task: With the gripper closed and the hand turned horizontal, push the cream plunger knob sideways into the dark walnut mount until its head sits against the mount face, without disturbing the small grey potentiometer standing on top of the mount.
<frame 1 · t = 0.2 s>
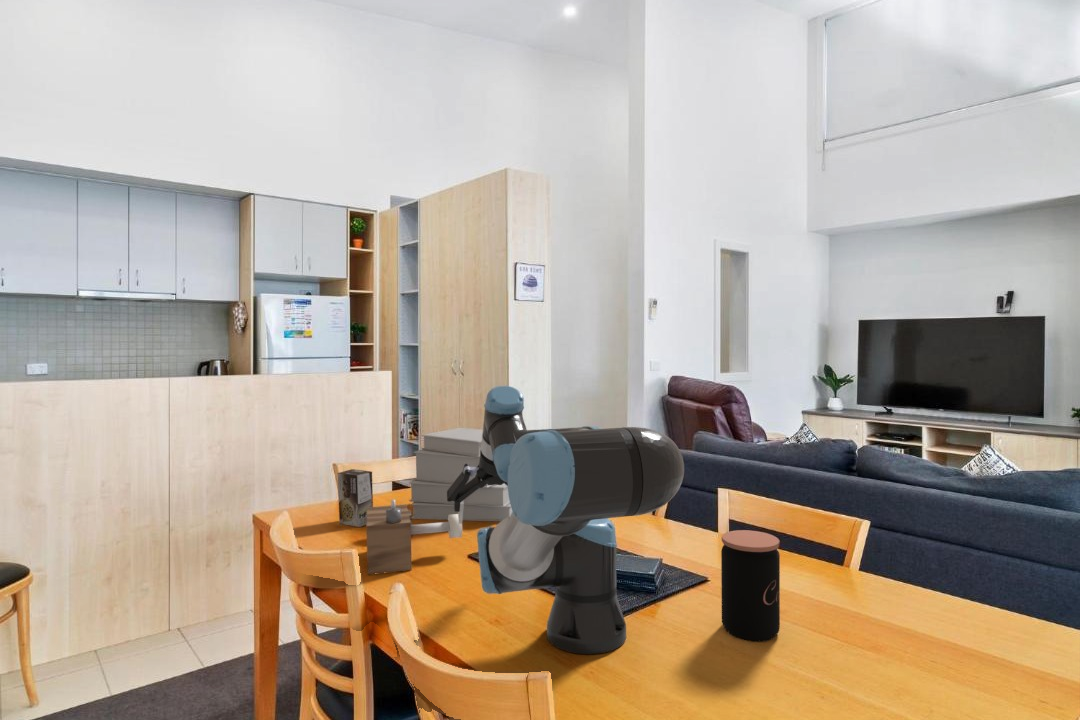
hand: (490, 518, 147), 16 cm above the table, tool tilted 35°, fingers open, 13 cm apart
mount: (388, 560, 166), on the table
canned food: (394, 539, 185), on the table
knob: (432, 527, 168), point 8 cm above the table, slide at 0.0 cm
book stack: (469, 511, 212), on the table
coffee jar: (750, 631, 124), on the table
coffee box: (356, 523, 200), on the table
potentiometer: (393, 521, 159), point 12 cm above the table, touching mount
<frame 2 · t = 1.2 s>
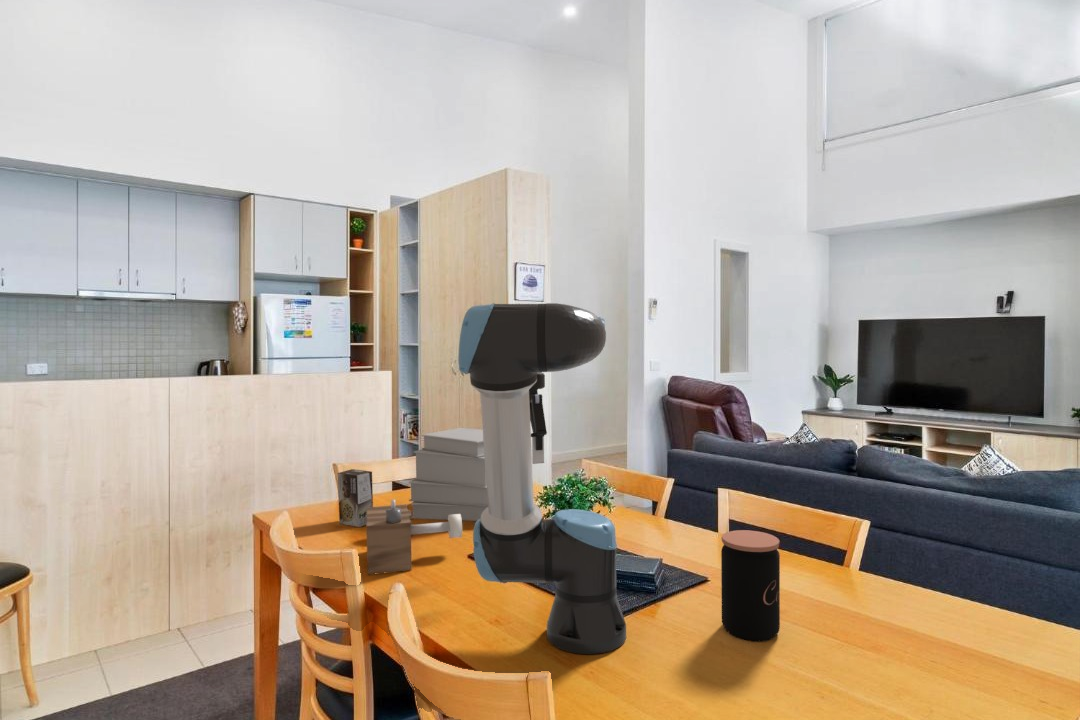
hand: (530, 457, 160), 27 cm above the table, tool pointing down, fingers open, 13 cm apart
nothing on the table moved.
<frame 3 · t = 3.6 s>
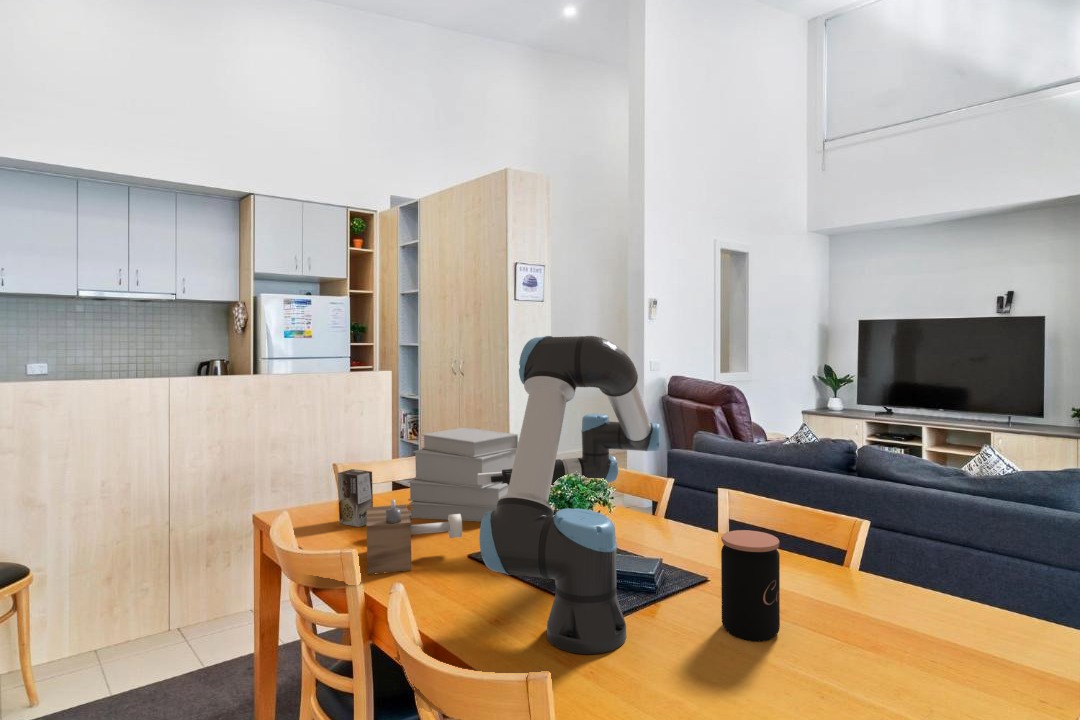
hand: (478, 479, 171), 19 cm above the table, tool horizontal, fingers closed
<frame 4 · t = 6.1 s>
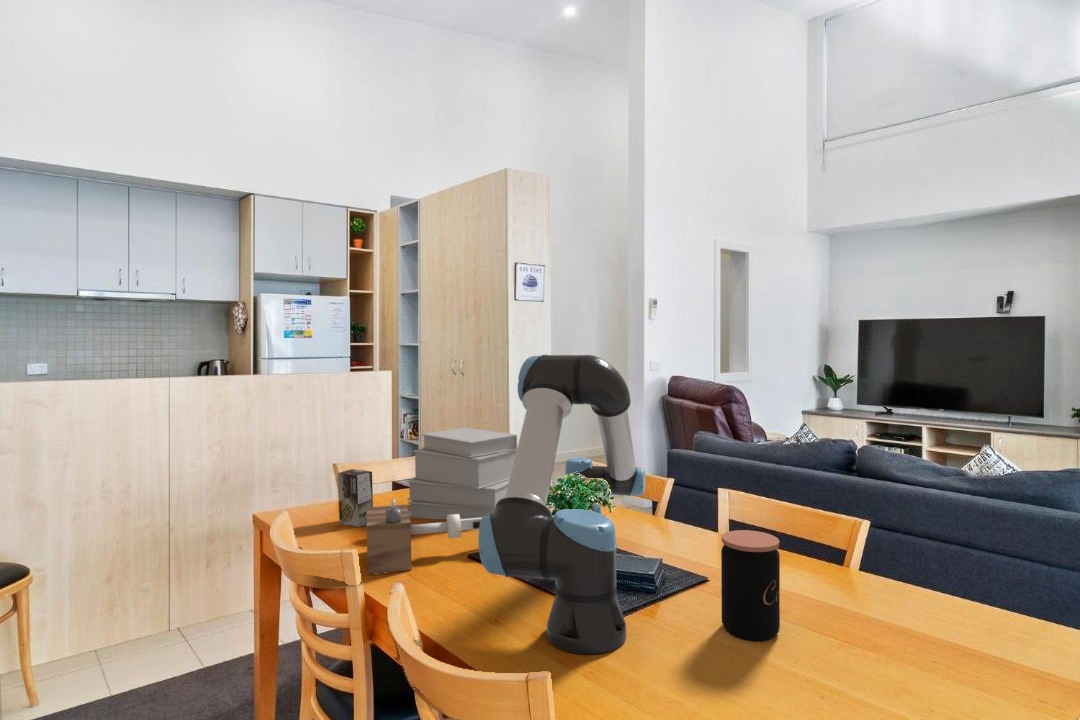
hand: (460, 525, 171), 7 cm above the table, tool horizontal, fingers closed
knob: (430, 528, 168), point 8 cm above the table, slide at 0.3 cm, touching gripper
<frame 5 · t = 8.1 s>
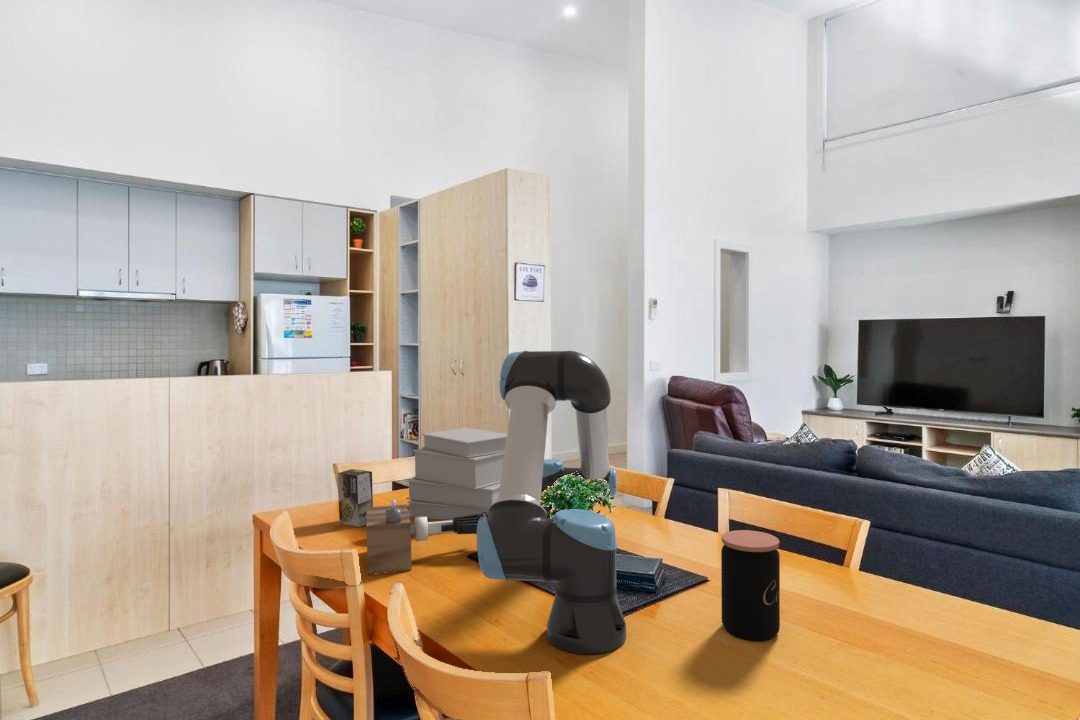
hand: (428, 528, 168), 7 cm above the table, tool horizontal, fingers closed
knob: (397, 531, 166), point 8 cm above the table, slide at 8.8 cm, touching gripper
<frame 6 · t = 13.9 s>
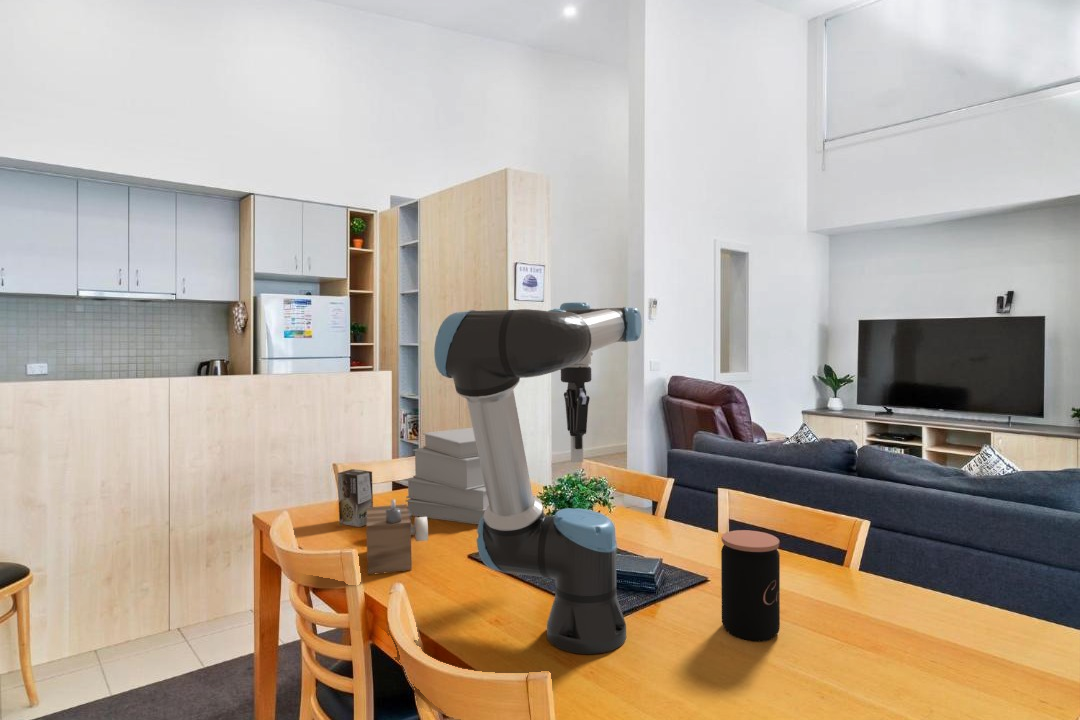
hand: (577, 461, 158), 26 cm above the table, tool pointing down, fingers closed
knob: (397, 531, 166), point 7 cm above the table, slide at 8.8 cm
at the end: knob slide at 8.8 cm; potentiometer tilted 0°; potentiometer moved 0.0 cm from its start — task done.
